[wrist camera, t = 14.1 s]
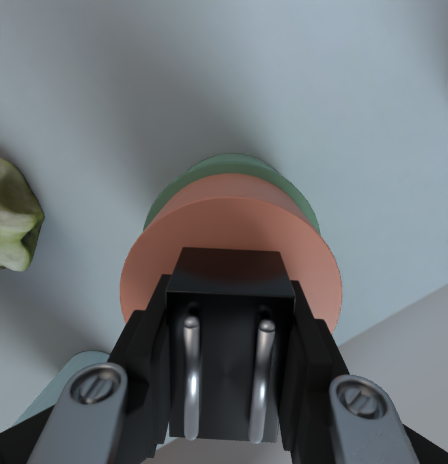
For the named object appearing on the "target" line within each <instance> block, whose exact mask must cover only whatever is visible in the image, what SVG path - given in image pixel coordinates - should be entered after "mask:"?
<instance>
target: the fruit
mask: <svg viewBox="0 0 448 464" xmlns="http://www.w3.org/2000/svg"><path fill="white" fill-rule="evenodd" d="M44 219H45V216H44V212H43V210H42V208H41V206H40V204H39V202H38V200H37V198H36V197H35V195H34V194H33V192H32V190H31V188H30V187H29V185H28V183H27V181H26V179H25V178H24V176H23V174H22V173H21V172H20V171H19V170H18V169H17V168H16V167H15V166H14V165H13V164H11V163H10V162H9V161H7V160H5V159H2V158H0V270H1V269H4V268H8V269H10V270H13V271H25V270H26V269H27V268H28V267H29V266H30V263H31V261H32V259H33V256H34V251H35V248H36V245H37V241H38V237H39V233H40V229H41V225H42V223H43V221H44Z"/></svg>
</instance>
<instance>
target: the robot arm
mask: <svg viewBox="0 0 448 464" xmlns="http://www.w3.org/2000/svg"><path fill="white" fill-rule="evenodd" d="M171 275H172V274H162V275H161V277H160V279H159V282H158V284H157V286H156V288H155V290H154V292H153V295H152V297H151V299H150V301H149V303H148V305H147V308H146V310H134V311H133V312H132V314H131V316H130V318H129V320H128V322H127V324H126V326H125V328H124V329H123V331H122V333H121V335H120V337H119V339H118V341H117V343H116V345H115V347H114V349H113V350H112V352H111V354H110V356H109V358H108V360H107V362H101V363H95V364H92V365H89V366H86V367H84V368H83V369H81V370H79V371H77V372H76V373H75V374H74V375H73V376H72V377H70V378H69V380H68V381H67V383H66V384H65V386H64V388H63V390H62V392H61V394H60V396H59V398H58V400H57V402H56V404H54V405H53V406H51V407H49V408H47V409H45V410H43V411H41V412H39V413H37V414H36V415H34V416H32V417H30V418H28V419H26V420H24V421H22V422H20V423H19V424H17V425H15V426H13V427H11V428H9V429H7V430H5V431H3V432H2V433H0V464H140V463H141V462H143V461H144V460H145V459H146V458H154V455H155V451H156V446H157V444H164V441H165V437H166V432H167V427H168V422H169V418H170V413H171V403H170V363H169V325H166V304H165V290H166V288H167V285H168V283H169V280H170V278H171ZM290 281H291V284H292V287H293V289H294V292H295V295H296V304H295V311H294V318H293V326H292V331H291V332H290V337H289V344H288V352H287V359H286V367H285V374H284V381H283V389H282V396H281V403H280V411H279V424H280V430H281V436H282V443H283V448H284V450H285V451H290V452H291V458H292V463H293V464H448V452H446V451H444V450H443V449H441V448H440V447H438V446H437V445H435V444H434V443H432V442H430V441H429V440H427V439H426V438H424V437H423V436H421V435H420V434H418V433H416V432H415V431H413V430H412V429H410V428H408V427H407V426H405V425H404V424H402V422H401V420H400V418H399V415H398V413H397V411H396V408H395V406H394V404H393V402H392V400H391V399H390V397H389V395H388V394H387V393H386V392H385V391H384V390H383V389H382V388H381V387H380V386H378V385H377V384H375V383H374V382H372V381H370V380H368V379H366V378H364V377H360V376H356V375H350V373H349V371H348V369H347V367H346V365H345V363H344V360H343V358H342V356H341V354H340V352H339V350H338V347H337V345H336V343H335V341H334V339H333V337H332V335H331V332H330V330H329V328H328V326H327V324H326V322H325V320H324V319H316V318H314V316H313V314H312V311H311V309H310V306H309V304H308V302H307V299H306V297H305V294H304V292H303V290H302V287H301V285H300V282H299V281H298V280H290Z"/></svg>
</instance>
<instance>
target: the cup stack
mask: <svg viewBox="0 0 448 464" xmlns="http://www.w3.org/2000/svg"><path fill="white" fill-rule="evenodd" d="M183 247H197V248H218V249H239V250H260V251H279V252H280V253H281V256H282V259H283V262H284V265H285V267H286V270H287V273H288V276H289V278H290V280H298V281H299V282H300V285H301V287H302V290H303V292H304V294H305V297H306V299H307V302H308V304H309V306H310V309H311V311H312V314H313V316H314V318H316V319H324V320H325V322H326V324H327V326H328V328H329V330H330V332H331V335H332V333H333V331H334V329H335V326H336V324H337V322H338V318H339V314H340V311H341V303H342V282H341V277H340V272H339V269H338V266H337V263H336V260H335V258H334V256H333V254H332V252H331V250H330V248H329V247H328V245H327V244H326V242H325V241H324V240H323V238H322V237H321V234H320V230H319V225H318V222H317V219H316V216H315V214H314V212H313V210H312V208H311V206H310V204H309V203H308V201H307V200H306V199H305V197H304V196H303V195H302V193H301V192H300V191H299V190H298V189H297V188H296V187H295V186H294V185H293V184H292V183H291V182H289V181H288V180H287V179H285V178H284V177H283V176H281V175H279V174H278V173H277V172H276V171H275V170H274V169H273V168H272V167H270V166H269V165H268V164H266V163H264V162H263V161H261V160H259V159H256V158H254V157H251V156H247V155H242V154H222V155H216V156H213V157H210V158H207V159H205V160H203V161H201V162H199V163H198V164H196V165H194V166H193V167H192V168H191V169H189V170H188V171H187V172H186V173H185V174H183V175H182V176H180V177H178V178H177V179H176V180H175V181H173V182H172V183H171V184H170V185H169V186H168V187H167V188H166V189H165V190H164V191H163V192H162V193H161V194H160V195H159V196H158V198H157V199H156V201H155V202H154V204H153V205H152V207H151V209H150V211H149V213H148V215H147V218H146V221H145V225H144V228H143V233H142V234H141V235H140V236H139V238H138V239H137V241H136V242H135V244H134V245H133V246H132V248H131V250H130V252H129V254H128V256H127V258H126V260H125V263H124V267H123V270H122V274H121V281H120V302H121V309H122V313H123V316H124V320H125V323H126V324H127V322H128V320H129V318H130V316H131V314H132V312H133V311H134V310H146V308H147V305H148V303H149V301H150V299H151V297H152V295H153V292H154V290H155V288H156V286H157V284H158V282H159V279H160V277H161V275H162V274H172V273H173V270H174V268H175V265H176V263H177V260H178V258H179V255H180V253H181V250H182V248H183Z"/></svg>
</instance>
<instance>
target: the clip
mask: <svg viewBox="0 0 448 464" xmlns="http://www.w3.org/2000/svg"><path fill="white" fill-rule="evenodd" d="M165 304H166V325H169V363H170V403H171V413H170V418H169V436H170V437H182V438H187V439H188V440H194V439H195V438H201V439H218V440H219V439H220V440H238V441H251V442H252V443H255V444H258V443H260V442H273V443H275V442H276V441H277V435H278V427H279V411H280V403H281V396H282V389H283V381H284V374H285V367H286V359H287V352H288V344H289V337H290V332H291V331H292V326H293V318H294V311H295V304H296V295H295V292H294V289H293V287H292V284H291V281H290V278H289V276H288V273H287V270H286V267H285V265H284V262H283V259H282V256H281V253H280V252H279V251H260V250H239V249H218V248H197V247H183V248H182V250H181V253H180V255H179V258H178V260H177V263H176V265H175V268H174V270H173V273H172V275H171V278H170V280H169V283H168V285H167V288H166V290H165Z"/></svg>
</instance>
